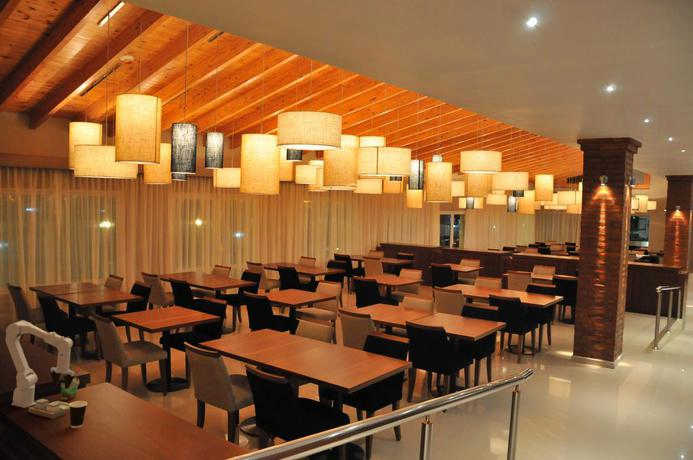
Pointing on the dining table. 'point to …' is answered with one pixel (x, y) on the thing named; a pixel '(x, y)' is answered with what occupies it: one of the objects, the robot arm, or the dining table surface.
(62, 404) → the tray
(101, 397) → the dining table surface
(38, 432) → the dining table surface
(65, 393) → the food container
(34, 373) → the robot arm
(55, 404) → the plug
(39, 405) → the beige block
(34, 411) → the grey cubby shelf
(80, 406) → the dixie cup
